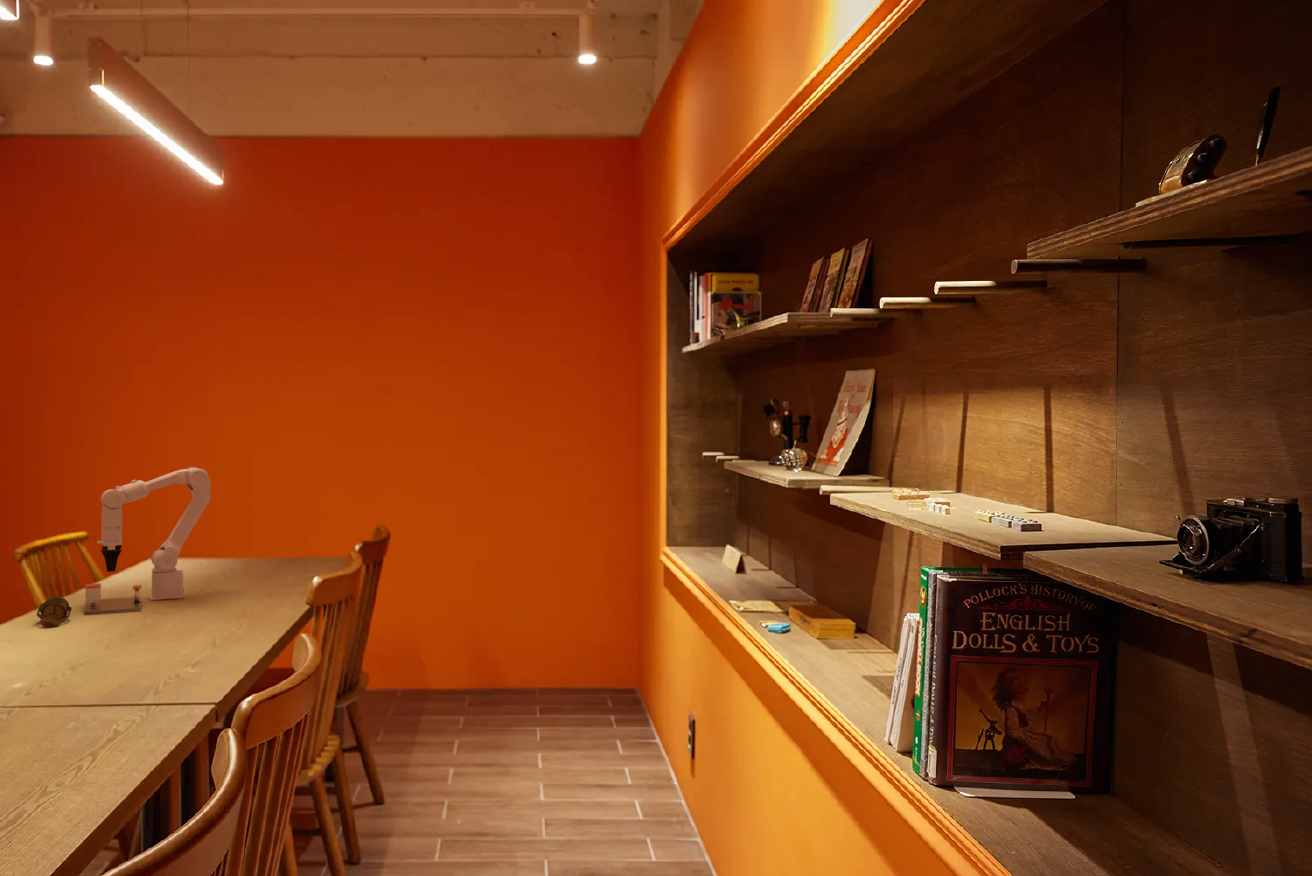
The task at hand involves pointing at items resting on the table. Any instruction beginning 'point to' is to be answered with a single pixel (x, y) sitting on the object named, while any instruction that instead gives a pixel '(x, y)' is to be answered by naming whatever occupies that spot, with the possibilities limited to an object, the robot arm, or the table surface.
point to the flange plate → (115, 604)
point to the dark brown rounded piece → (54, 611)
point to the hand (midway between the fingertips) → (111, 569)
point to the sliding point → (93, 593)
